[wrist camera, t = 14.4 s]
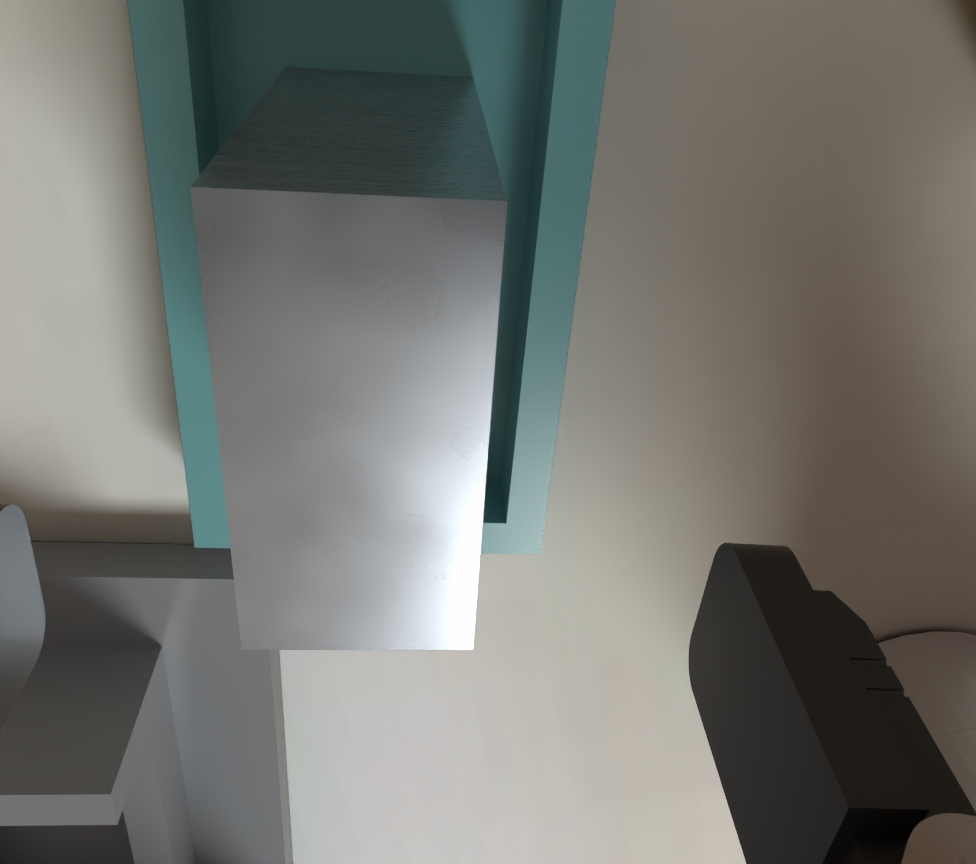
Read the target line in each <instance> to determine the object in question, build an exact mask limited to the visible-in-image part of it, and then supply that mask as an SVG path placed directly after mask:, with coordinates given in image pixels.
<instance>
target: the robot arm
mask: <svg viewBox="0 0 976 864" xmlns="http://www.w3.org/2000/svg"><path fill="white" fill-rule="evenodd" d="M45 621H46V616H45V606H44V601H43V596H42V592H41V587H40V582H39V578H38V573H37V568H36V564H35V559H34V555H33V550H32V545H31V541H30V536H29V531H28V527H27V522H26V519H25V516H24V514H23V512H22V510H21V509H20V508H19V507H18V506H16V505H10V504H0V730H1V728H2V726H3V724H4V722H5V721H6V719H7V717H8V715H9V713H10V711H11V709H12V707H13V706H14V704H15V702H16V700H17V698H18V696H19V694H20V692H21V691H22V689H23V687H24V685H25V683H26V681H27V679H28V678H29V676H30V674H31V672H32V670H33V668H34V666H35V664H36V662H37V660H38V657H39V655H40V651H41V648H42V644H43V640H44V633H45ZM689 675H690V682H691V687H692V691H693V694H694V697H695V700H696V704H697V707H698V710H699V713H700V716H701V719H702V723H703V726H704V729H705V732H706V735H707V739H708V742H709V745H710V748H711V751H712V755H713V758H714V761H715V764H716V767H717V771H718V774H719V777H720V780H721V783H722V787H723V790H724V793H725V796H726V799H727V803H728V806H729V809H730V812H731V815H732V818H733V822H734V825H735V828H736V831H737V834H738V838H739V841H740V844H741V847H742V850H743V854H744V857H745V860H746V863H747V864H976V635H973V634H968V633H963V632H935V631H933V632H926V633H918V634H911V635H904V636H901V637H897V638H894V639H890V640H887V641H883V642H879V643H877V641H876V640H875V638H874V636H873V635H872V633H871V631H870V629H869V628H868V626H867V624H866V623H865V622H864V621H863V620H862V619H861V618H860V617H859V616H858V615H856V614H855V613H854V612H853V611H852V610H851V609H850V608H849V607H848V606H847V605H845V604H844V603H843V602H842V601H841V600H840V599H839V598H838V597H837V596H836V595H834V594H833V593H832V592H831V591H817V590H813V589H812V587H811V585H810V583H809V581H808V579H807V578H806V576H805V574H804V572H803V570H802V568H801V566H800V564H799V563H798V561H797V559H796V557H795V555H794V554H793V552H792V551H791V550H790V549H789V548H788V547H786V546H774V545H755V544H735V543H724V544H722V545H721V546H720V547H719V548H718V550H717V552H716V554H715V557H714V560H713V563H712V566H711V570H710V573H709V577H708V580H707V584H706V587H705V590H704V594H703V597H702V601H701V604H700V608H699V611H698V614H697V618H696V621H695V625H694V628H693V632H692V635H691V640H690V646H689Z"/></svg>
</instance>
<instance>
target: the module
mask: <svg viewBox="0 0 976 864" xmlns="http://www.w3.org/2000/svg"><path fill="white" fill-rule="evenodd" d="M190 189H191V198H192V207H193V216H194V225H195V234H196V243H197V252H198V261H199V270H200V279H201V288H202V297H203V306H204V315H205V324H206V333H207V342H208V351H209V360H210V369H211V378H212V387H213V396H214V405H215V414H216V423H217V432H218V441H219V450H220V459H221V468H222V477H223V486H224V495H225V504H226V513H227V522H228V531H229V540H230V549H231V558H232V567H233V576H234V585H235V594H236V603H237V612H238V621H239V630H240V639H241V648H242V650H473V644H474V631H475V618H476V605H477V591H478V578H479V565H480V552H481V539H482V526H483V513H484V500H485V486H486V473H487V460H488V447H489V434H490V421H491V408H492V395H493V381H494V368H495V355H496V342H497V329H498V316H499V303H500V289H501V276H502V263H503V250H504V237H505V224H506V211H507V199H506V195H505V191H504V188H503V184H502V180H501V177H500V173H499V169H498V166H497V162H496V158H495V155H494V151H493V147H492V144H491V140H490V136H489V133H488V129H487V125H486V122H485V118H484V114H483V111H482V107H481V103H480V100H479V96H478V92H477V89H476V85H475V81H474V78H473V77H457V76H440V75H422V74H405V73H387V72H370V71H352V70H335V69H317V68H300V67H285V68H284V69H283V71H282V72H281V73H280V74H279V76H278V77H277V78H276V79H275V81H274V82H273V83H272V84H271V86H270V87H269V88H268V90H267V91H266V92H265V93H264V95H263V96H262V97H261V98H260V100H259V101H258V102H257V103H256V105H255V106H254V107H253V108H252V110H251V111H250V112H249V113H248V115H247V116H246V117H245V119H244V120H243V121H242V122H241V124H240V125H239V126H238V127H237V129H236V130H235V131H234V132H233V134H232V135H231V136H230V137H229V139H228V140H227V141H226V143H225V144H224V145H223V146H222V148H221V149H220V150H219V151H218V153H217V154H216V155H215V156H214V158H213V159H212V160H211V161H210V163H209V164H208V165H207V166H206V168H205V169H204V170H203V172H202V173H201V174H200V175H199V177H198V178H197V179H196V180H195V182H194V183H193V184H192V185H191V187H190Z"/></svg>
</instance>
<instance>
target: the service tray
mask: <svg viewBox="0 0 976 864" xmlns="http://www.w3.org/2000/svg"><path fill="white" fill-rule="evenodd" d="M127 3H128V11H129V19H130V27H131V35H132V43H133V51H134V60H135V68H136V76H137V84H138V92H139V100H140V108H141V116H142V125H143V133H144V141H145V149H146V157H147V165H148V173H149V182H150V190H151V198H152V206H153V214H154V222H155V230H156V238H157V247H158V255H159V263H160V271H161V279H162V287H163V295H164V303H165V312H166V320H167V328H168V336H169V344H170V352H171V360H172V368H173V377H174V385H175V393H176V401H177V409H178V417H179V425H180V433H181V442H182V450H183V458H184V466H185V474H186V482H187V490H188V498H189V507H190V515H191V523H192V531H193V539H194V547H195V548H230V540H229V531H228V522H227V513H226V504H225V495H224V486H223V477H222V468H221V459H220V450H219V441H218V432H217V423H216V414H215V405H214V396H213V387H212V378H211V369H210V360H209V351H208V342H207V333H206V324H205V315H204V306H203V297H202V288H201V279H200V270H199V261H198V252H197V243H196V234H195V225H194V216H193V207H192V198H191V189H190V187H191V185H192V184H193V183H194V182H195V180H196V179H197V178H198V177H199V175H200V174H201V173H202V172H203V170H204V169H205V168H206V166H207V165H208V164H209V163H210V161H211V160H212V159H213V158H214V156H215V155H216V154H217V153H218V151H219V150H220V149H221V148H222V146H223V145H224V144H225V143H226V141H227V140H228V139H229V137H230V136H231V135H232V134H233V132H234V131H235V130H236V129H237V127H238V126H239V125H240V124H241V122H242V121H243V120H244V119H245V117H246V116H247V115H248V113H249V112H250V111H251V110H252V108H253V107H254V106H255V105H256V103H257V102H258V101H259V100H260V98H261V97H262V96H263V95H264V93H265V92H266V91H267V90H268V88H269V87H270V86H271V84H272V83H273V82H274V81H275V79H276V78H277V77H278V76H279V74H280V73H281V72H282V71H283V69H284V68H285V67H300V68H317V69H335V70H352V71H370V72H387V73H405V74H422V75H440V76H457V77H473V78H474V81H475V85H476V89H477V92H478V96H479V100H480V103H481V107H482V111H483V114H484V118H485V122H486V125H487V129H488V133H489V136H490V140H491V144H492V147H493V151H494V155H495V158H496V162H497V166H498V169H499V173H500V177H501V180H502V184H503V188H504V191H505V195H506V199H507V211H506V224H505V237H504V250H503V263H502V276H501V289H500V303H499V316H498V329H497V342H496V355H495V368H494V381H493V395H492V408H491V421H490V434H489V447H488V460H487V473H486V486H485V500H484V513H483V526H482V539H481V552H480V553H499V554H540V553H541V545H542V538H543V531H544V523H545V516H546V509H547V501H548V494H549V486H550V479H551V472H552V464H553V457H554V450H555V442H556V435H557V427H558V420H559V413H560V405H561V398H562V391H563V383H564V376H565V368H566V361H567V354H568V346H569V339H570V332H571V324H572V317H573V309H574V302H575V295H576V287H577V280H578V273H579V265H580V258H581V250H582V243H583V236H584V228H585V221H586V214H587V206H588V199H589V192H590V184H591V177H592V169H593V162H594V155H595V147H596V140H597V133H598V125H599V118H600V110H601V103H602V96H603V88H604V81H605V74H606V66H607V59H608V51H609V44H610V37H611V29H612V22H613V15H614V7H615V0H127Z"/></svg>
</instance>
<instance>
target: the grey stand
mask: <svg viewBox="0 0 976 864" xmlns="http://www.w3.org/2000/svg"><path fill="white" fill-rule="evenodd" d="M31 545H32V550H33V555H34V559H35V564H36V568H37V573H38V578H39V582H40V587H41V592H42V596H43V601H44V606H45V616H46V621H45V633H44V640H43V644H42V648H41V651H40V655H39V657H38V660H37V662H36V664H35V666H34V668H33V670H32V672H31V674H30V676H29V678H28V679H27V681H26V683H25V685H24V687H23V689H22V691H21V692H20V694H19V696H18V698H17V700H16V702H15V704H14V706H13V707H12V709H11V711H10V713H9V715H8V717H7V719H6V721H5V722H4V724H3V726H2V728H1V730H0V864H293V855H292V840H291V824H290V809H289V793H288V778H287V762H286V747H285V732H284V716H283V701H282V685H281V670H280V654H279V650H242V648H241V639H240V630H239V621H238V612H237V603H236V594H235V585H234V576H233V567H232V558H231V549H230V548H195V547H194V545H185V544H133V543H82V542H31Z"/></svg>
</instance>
